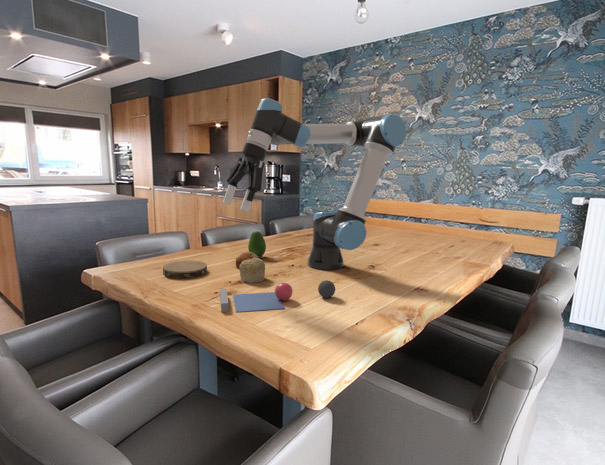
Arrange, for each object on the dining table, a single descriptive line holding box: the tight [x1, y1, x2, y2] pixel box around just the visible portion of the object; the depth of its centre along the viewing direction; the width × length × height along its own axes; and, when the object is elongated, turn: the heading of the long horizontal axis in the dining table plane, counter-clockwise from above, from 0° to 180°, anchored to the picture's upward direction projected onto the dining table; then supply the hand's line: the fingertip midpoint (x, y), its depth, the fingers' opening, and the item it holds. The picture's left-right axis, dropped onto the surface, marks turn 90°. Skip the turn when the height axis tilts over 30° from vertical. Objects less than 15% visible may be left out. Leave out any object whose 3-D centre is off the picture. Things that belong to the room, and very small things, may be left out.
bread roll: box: [235, 251, 259, 270], centre depth 145 cm, size 10×10×8 cm
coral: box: [238, 257, 266, 284], centre depth 129 cm, size 9×9×8 cm
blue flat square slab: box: [232, 291, 286, 313], centre depth 107 cm, size 14×14×1 cm
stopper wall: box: [219, 288, 230, 313], centre depth 105 cm, size 2×12×2 cm, turn 15°
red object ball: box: [274, 282, 294, 302], centre depth 109 cm, size 6×6×6 cm
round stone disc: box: [162, 260, 208, 280], centre depth 135 cm, size 16×16×3 cm
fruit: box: [247, 230, 267, 258], centre depth 160 cm, size 8×8×12 cm
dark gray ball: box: [317, 280, 336, 299], centre depth 112 cm, size 6×6×6 cm
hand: (234, 207), depth 116 cm, fingers open, 13 cm apart
